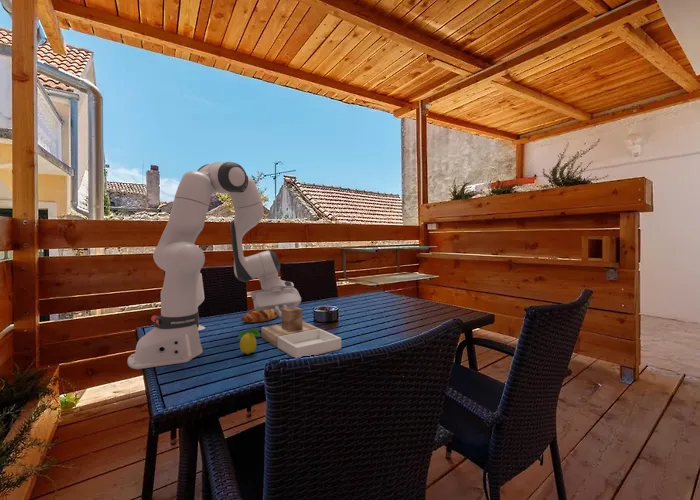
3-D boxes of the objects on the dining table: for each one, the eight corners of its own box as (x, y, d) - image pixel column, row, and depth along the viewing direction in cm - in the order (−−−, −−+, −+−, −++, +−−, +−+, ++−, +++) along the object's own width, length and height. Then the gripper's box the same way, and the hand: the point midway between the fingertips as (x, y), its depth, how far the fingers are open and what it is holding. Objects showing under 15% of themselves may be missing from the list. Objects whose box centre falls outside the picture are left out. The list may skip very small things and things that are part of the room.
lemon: (261, 355, 120) (260, 326, 119) (244, 359, 116) (244, 329, 115) (253, 350, 125) (252, 322, 124) (236, 353, 121) (236, 325, 120)
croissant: (277, 321, 176) (273, 306, 179) (288, 315, 170) (283, 300, 172) (238, 329, 161) (235, 313, 163) (249, 323, 155) (244, 305, 157)
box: (296, 359, 115) (296, 347, 115) (277, 347, 128) (277, 336, 127) (341, 348, 126) (341, 338, 126) (319, 338, 138) (319, 328, 138)
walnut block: (288, 331, 133) (288, 311, 133) (281, 328, 138) (281, 308, 138) (302, 329, 137) (302, 309, 136) (295, 325, 142) (295, 306, 141)
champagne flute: (184, 329, 150) (183, 274, 149) (198, 325, 156) (196, 272, 155) (195, 331, 147) (194, 275, 146) (208, 327, 153) (207, 273, 152)
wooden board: (276, 346, 128) (276, 335, 128) (261, 337, 140) (261, 327, 139) (318, 337, 139) (318, 327, 139) (301, 329, 150) (301, 320, 150)
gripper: (251, 286, 143) (261, 315, 136) (296, 282, 155) (307, 308, 148) (247, 295, 147) (257, 323, 140) (291, 290, 159) (302, 316, 152)
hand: (283, 315), depth 144 cm, fingers closed
